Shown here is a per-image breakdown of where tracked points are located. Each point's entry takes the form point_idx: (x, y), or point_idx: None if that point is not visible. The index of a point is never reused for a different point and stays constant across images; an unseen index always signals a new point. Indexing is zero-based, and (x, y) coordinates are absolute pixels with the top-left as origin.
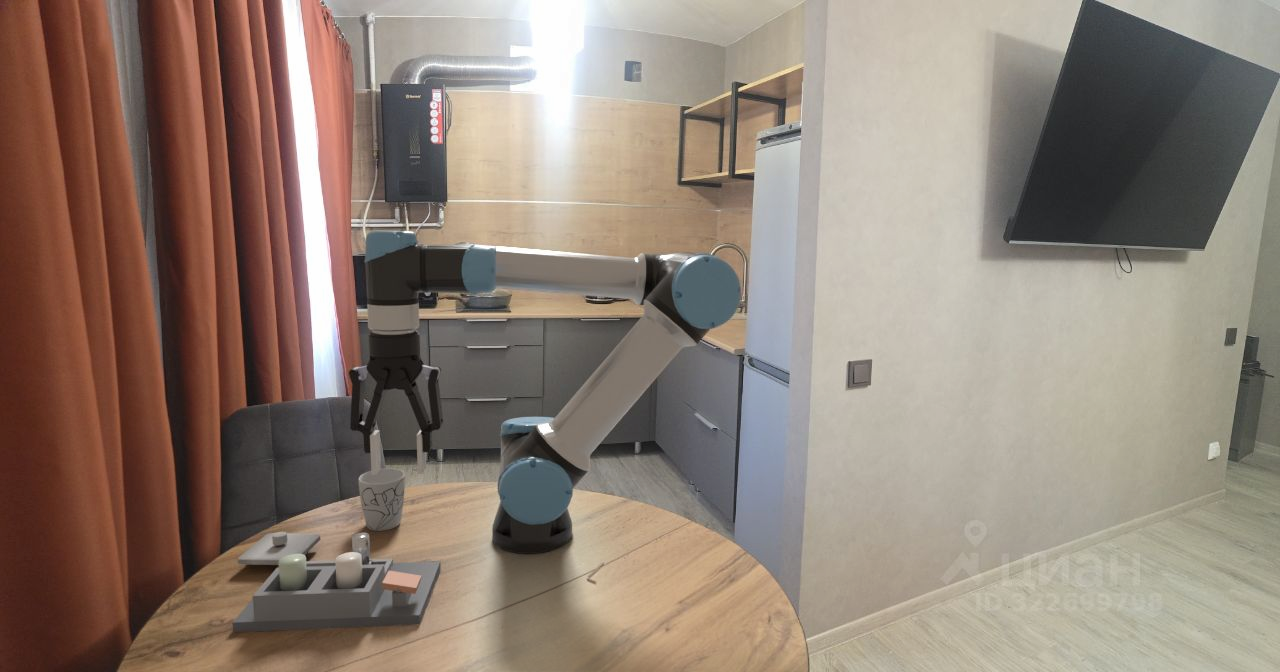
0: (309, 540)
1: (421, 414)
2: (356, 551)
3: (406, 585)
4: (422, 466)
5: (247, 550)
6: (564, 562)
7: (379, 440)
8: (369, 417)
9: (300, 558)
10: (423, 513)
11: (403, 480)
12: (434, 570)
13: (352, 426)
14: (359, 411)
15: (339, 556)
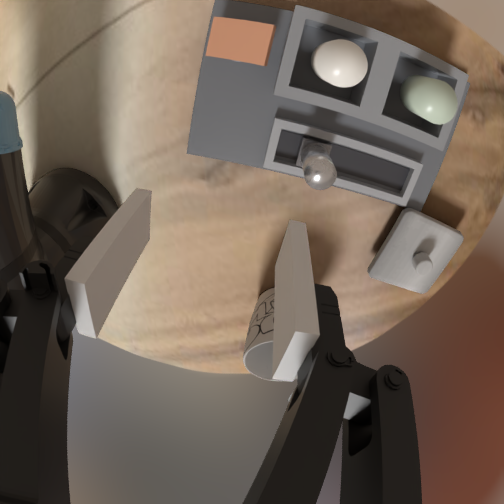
0: (384, 261)
1: (12, 362)
2: (325, 153)
3: (230, 21)
4: (126, 200)
5: (451, 256)
6: (34, 139)
7: (275, 338)
8: (323, 425)
9: (426, 100)
10: (227, 316)
11: (245, 348)
12: (194, 125)
13: (402, 382)
14: (376, 460)
15: (360, 75)
